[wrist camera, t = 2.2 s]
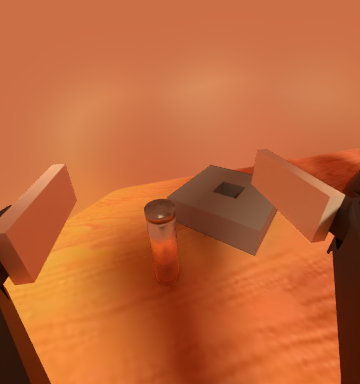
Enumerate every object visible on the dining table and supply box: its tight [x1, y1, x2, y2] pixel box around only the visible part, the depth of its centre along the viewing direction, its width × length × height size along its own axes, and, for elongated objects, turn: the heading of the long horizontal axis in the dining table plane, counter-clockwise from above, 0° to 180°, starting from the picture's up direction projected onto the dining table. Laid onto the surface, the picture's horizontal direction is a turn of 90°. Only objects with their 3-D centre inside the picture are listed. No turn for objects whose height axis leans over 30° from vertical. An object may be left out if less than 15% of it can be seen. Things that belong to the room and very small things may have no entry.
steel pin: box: [144, 199, 179, 285], centre depth 31 cm, size 4×4×14 cm
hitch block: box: [167, 165, 277, 256], centre depth 48 cm, size 20×20×6 cm
